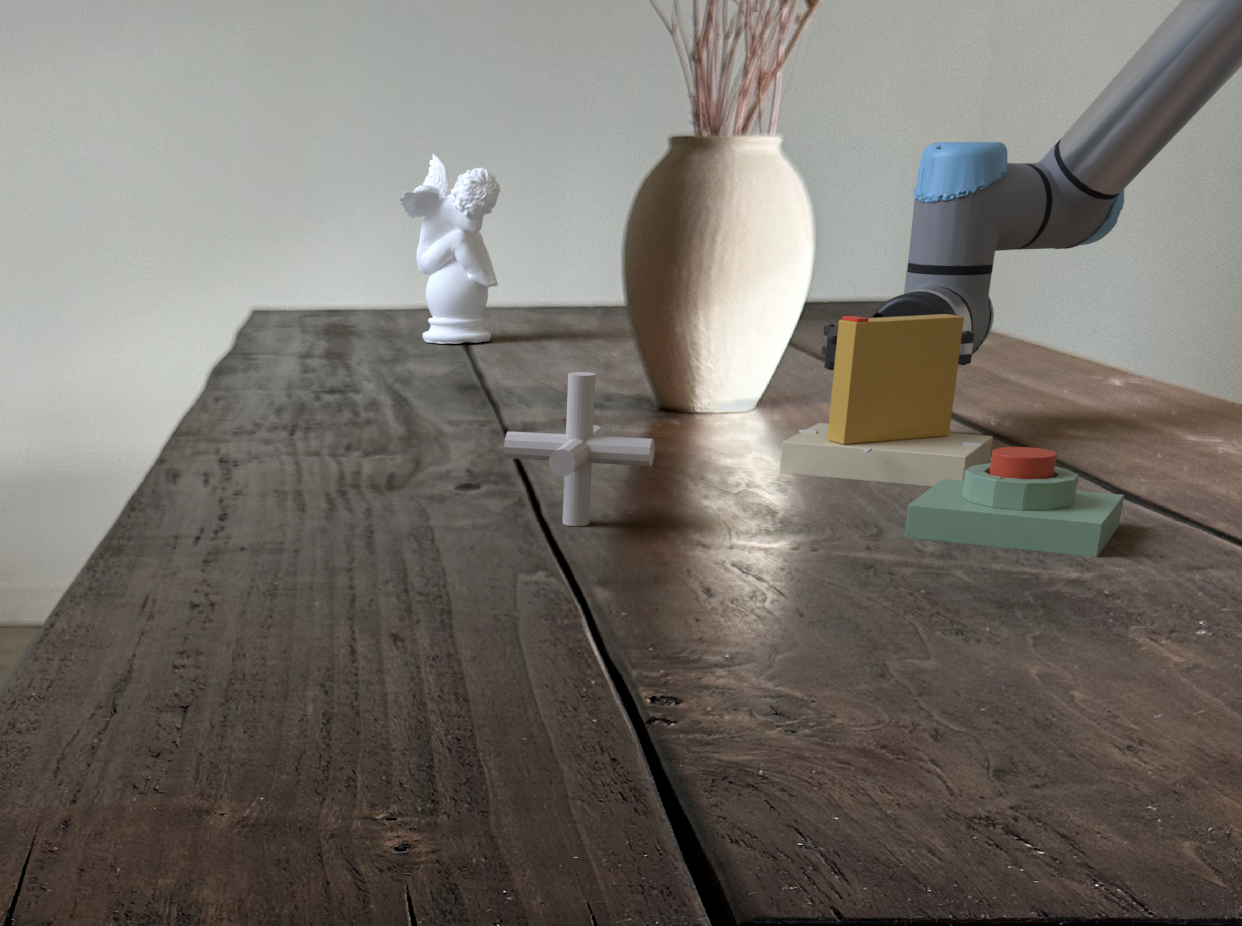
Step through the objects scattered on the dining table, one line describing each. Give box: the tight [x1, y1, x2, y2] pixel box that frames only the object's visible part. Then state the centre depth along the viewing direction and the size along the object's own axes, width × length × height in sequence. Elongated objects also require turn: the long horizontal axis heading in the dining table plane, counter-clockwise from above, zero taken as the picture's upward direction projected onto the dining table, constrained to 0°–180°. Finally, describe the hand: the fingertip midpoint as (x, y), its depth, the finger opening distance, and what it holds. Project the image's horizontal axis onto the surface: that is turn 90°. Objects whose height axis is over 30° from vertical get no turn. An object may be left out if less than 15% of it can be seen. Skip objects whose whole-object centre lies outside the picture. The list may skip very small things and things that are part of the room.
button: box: [989, 446, 1057, 479], centre depth 111 cm, size 4×4×2 cm
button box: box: [904, 462, 1125, 558], centre depth 112 cm, size 12×10×4 cm
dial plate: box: [779, 422, 994, 488], centre depth 133 cm, size 14×14×3 cm
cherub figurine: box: [398, 152, 501, 345], centre depth 209 cm, size 12×12×22 cm
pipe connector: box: [503, 371, 655, 527], centre depth 114 cm, size 10×10×10 cm
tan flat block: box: [827, 314, 964, 444], centre depth 130 cm, size 10×2×9 cm, turn 112°
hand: (844, 366), depth 131 cm, fingers closed
